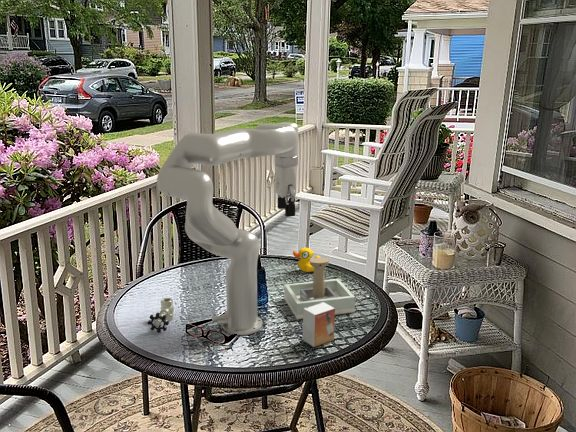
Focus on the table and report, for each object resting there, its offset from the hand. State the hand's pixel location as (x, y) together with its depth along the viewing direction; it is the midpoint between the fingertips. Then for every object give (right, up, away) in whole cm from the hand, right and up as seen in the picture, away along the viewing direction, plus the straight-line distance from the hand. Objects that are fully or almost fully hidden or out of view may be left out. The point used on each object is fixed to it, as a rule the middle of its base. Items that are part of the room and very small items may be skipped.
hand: (286, 212), depth 176 cm
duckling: (+8, -24, +36) cm, 44 cm away
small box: (+10, -39, -17) cm, 43 cm away
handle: (+11, -31, +5) cm, 33 cm away
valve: (-39, -36, -7) cm, 53 cm away
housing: (+11, -32, +6) cm, 34 cm away
